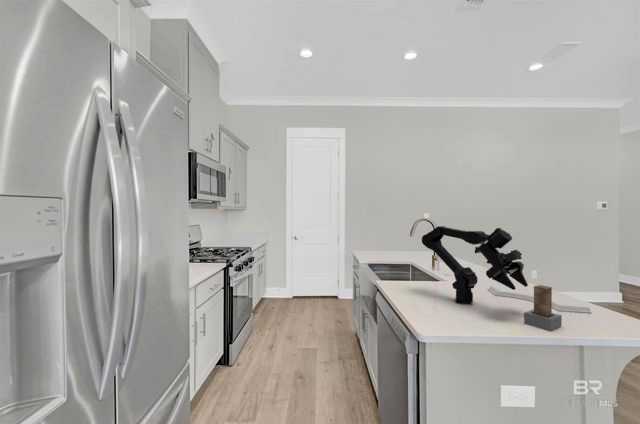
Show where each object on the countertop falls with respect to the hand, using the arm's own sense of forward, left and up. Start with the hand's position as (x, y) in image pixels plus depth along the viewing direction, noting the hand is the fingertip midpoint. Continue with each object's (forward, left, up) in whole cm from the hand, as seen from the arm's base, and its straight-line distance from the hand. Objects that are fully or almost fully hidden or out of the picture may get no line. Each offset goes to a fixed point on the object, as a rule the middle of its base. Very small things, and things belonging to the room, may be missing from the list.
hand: (520, 287), depth 115 cm
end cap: (+6, -4, -12) cm, 14 cm away
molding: (+11, +30, -13) cm, 35 cm away
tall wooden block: (+6, -4, -11) cm, 13 cm away
